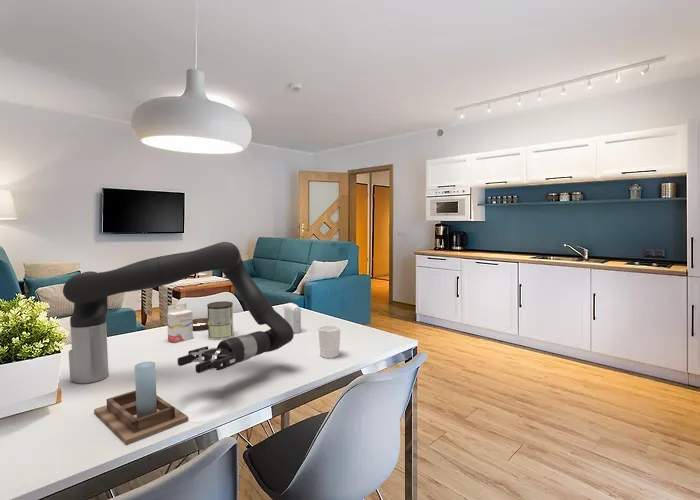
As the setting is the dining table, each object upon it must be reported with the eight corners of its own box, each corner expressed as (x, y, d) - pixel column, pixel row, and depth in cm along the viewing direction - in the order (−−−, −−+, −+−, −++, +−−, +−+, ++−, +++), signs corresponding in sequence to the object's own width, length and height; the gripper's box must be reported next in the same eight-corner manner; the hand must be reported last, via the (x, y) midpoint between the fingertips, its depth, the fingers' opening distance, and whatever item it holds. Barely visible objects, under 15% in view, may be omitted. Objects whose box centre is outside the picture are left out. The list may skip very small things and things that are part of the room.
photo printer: (302, 332, 173) (302, 304, 172) (293, 334, 171) (293, 305, 170) (291, 327, 181) (291, 300, 181) (283, 329, 179) (282, 302, 178)
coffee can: (203, 336, 168) (202, 303, 167) (226, 331, 175) (225, 300, 174) (215, 341, 160) (214, 307, 159) (238, 336, 168) (237, 303, 167)
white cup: (344, 355, 144) (344, 328, 143) (329, 360, 138) (329, 332, 137) (329, 350, 149) (329, 324, 148) (314, 355, 143) (314, 328, 143)
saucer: (175, 329, 180) (175, 323, 180) (201, 322, 193) (200, 316, 193) (199, 333, 173) (199, 327, 173) (224, 325, 186) (223, 319, 186)
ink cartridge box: (173, 343, 158) (172, 307, 157) (167, 341, 161) (166, 305, 160) (193, 338, 165) (192, 303, 164) (187, 336, 168) (186, 302, 167)
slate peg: (132, 419, 95) (130, 366, 94) (147, 411, 99) (145, 360, 98) (146, 422, 93) (144, 369, 92) (161, 414, 97) (159, 363, 96)
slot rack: (94, 413, 101) (93, 399, 101) (151, 394, 111) (150, 382, 111) (126, 444, 86) (125, 429, 86) (188, 420, 97) (188, 406, 97)
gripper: (222, 333, 121) (171, 346, 108) (253, 341, 112) (202, 357, 99) (223, 356, 121) (173, 373, 108) (253, 366, 113) (203, 386, 100)
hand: (187, 365), depth 104 cm, fingers open, 8 cm apart
